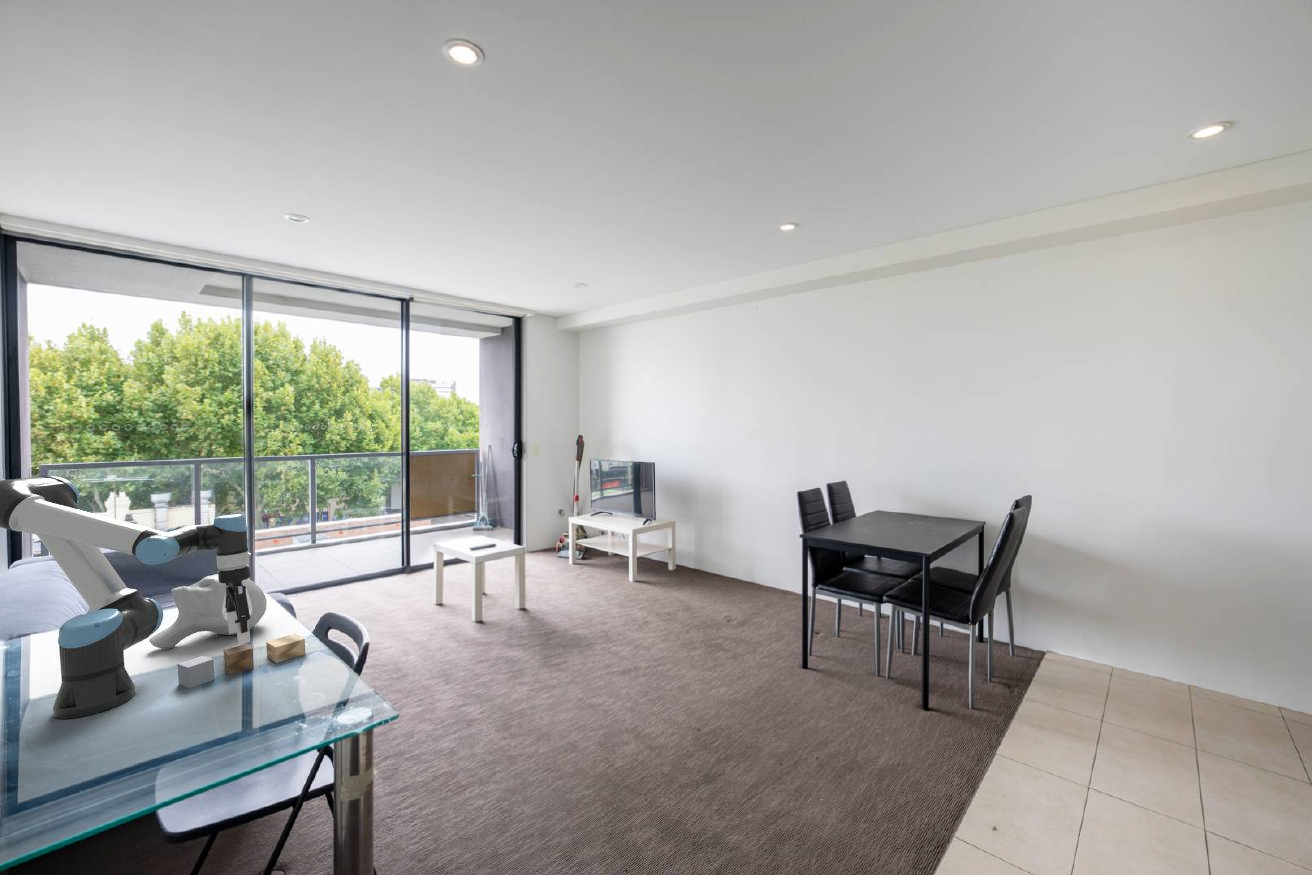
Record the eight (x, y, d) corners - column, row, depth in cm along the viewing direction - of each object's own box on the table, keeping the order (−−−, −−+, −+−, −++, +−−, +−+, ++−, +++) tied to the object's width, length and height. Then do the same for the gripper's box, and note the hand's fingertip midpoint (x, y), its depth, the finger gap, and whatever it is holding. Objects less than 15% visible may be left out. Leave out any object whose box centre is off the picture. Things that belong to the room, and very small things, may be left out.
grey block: (189, 688, 153) (187, 667, 153) (178, 684, 156) (177, 663, 155) (214, 679, 158) (213, 659, 158) (204, 675, 161) (202, 655, 161)
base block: (276, 663, 168) (275, 647, 168) (267, 657, 173) (266, 641, 173) (305, 654, 174) (304, 638, 174) (295, 648, 179) (295, 633, 179)
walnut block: (228, 675, 161) (227, 655, 160) (224, 669, 165) (223, 649, 164) (253, 668, 165) (252, 648, 165) (249, 662, 169) (248, 643, 169)
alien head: (123, 606, 182) (230, 550, 204) (166, 663, 190) (265, 603, 212) (132, 619, 169) (246, 557, 191) (178, 680, 177) (282, 614, 199)
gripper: (259, 570, 158) (264, 643, 159) (240, 558, 175) (245, 624, 176) (226, 576, 153) (232, 652, 153) (210, 564, 170) (215, 632, 170)
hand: (239, 637), depth 165 cm, fingers open, 13 cm apart
